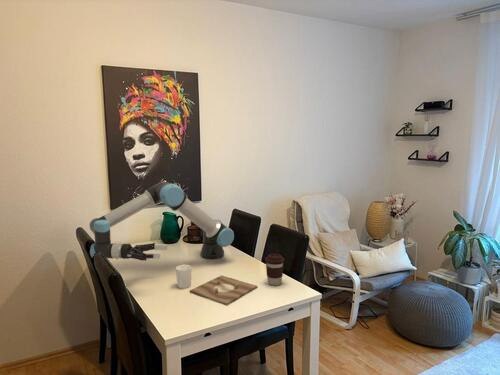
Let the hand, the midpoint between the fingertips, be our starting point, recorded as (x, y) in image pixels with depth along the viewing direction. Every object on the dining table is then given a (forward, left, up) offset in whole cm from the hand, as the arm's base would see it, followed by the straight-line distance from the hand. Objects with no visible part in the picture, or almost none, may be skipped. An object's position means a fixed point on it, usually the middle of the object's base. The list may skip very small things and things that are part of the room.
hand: (163, 251), depth 189 cm
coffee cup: (-36, +44, -19) cm, 60 cm away
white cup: (-6, +8, -19) cm, 21 cm away
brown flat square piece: (-14, +28, -18) cm, 36 cm away
